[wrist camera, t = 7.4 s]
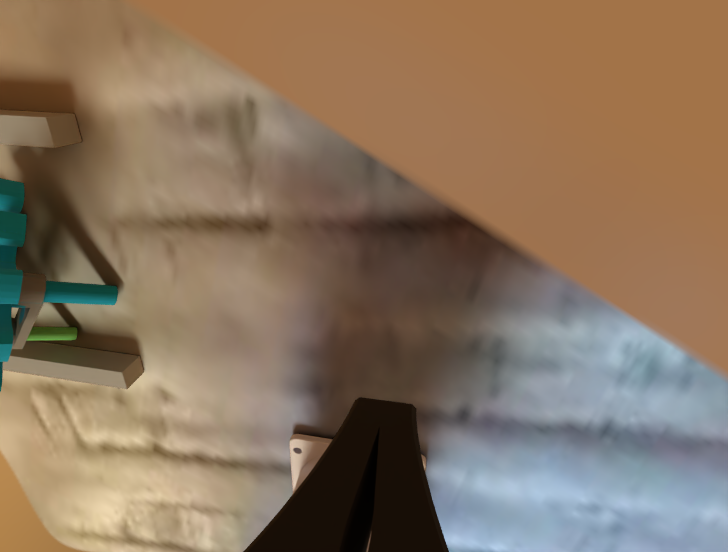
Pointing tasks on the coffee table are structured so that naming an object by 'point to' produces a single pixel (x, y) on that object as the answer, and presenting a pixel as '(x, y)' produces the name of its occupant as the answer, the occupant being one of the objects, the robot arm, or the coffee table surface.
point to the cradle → (49, 356)
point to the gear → (32, 283)
